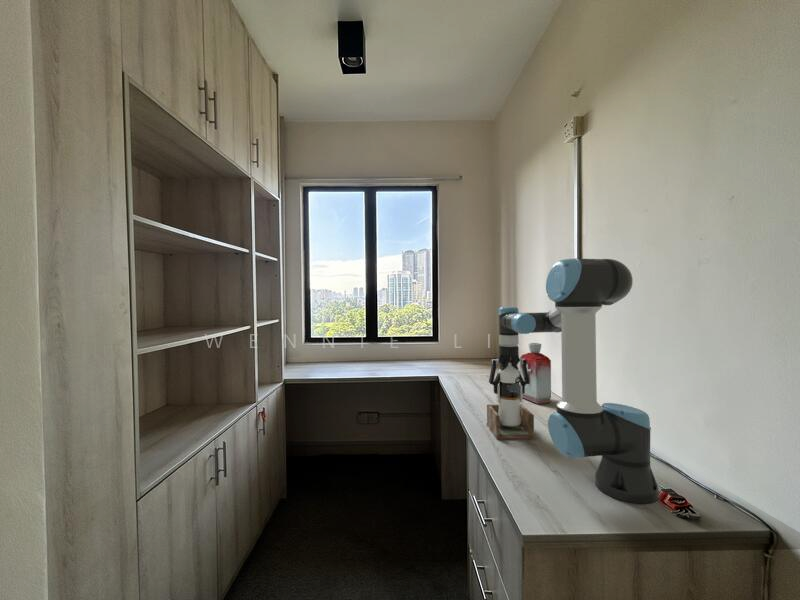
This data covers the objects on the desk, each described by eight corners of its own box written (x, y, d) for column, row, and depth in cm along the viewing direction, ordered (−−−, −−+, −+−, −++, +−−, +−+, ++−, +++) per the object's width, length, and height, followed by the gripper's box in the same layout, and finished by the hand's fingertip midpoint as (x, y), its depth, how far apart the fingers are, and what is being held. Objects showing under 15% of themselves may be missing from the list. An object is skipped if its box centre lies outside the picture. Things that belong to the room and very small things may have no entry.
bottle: (518, 398, 198) (518, 342, 198) (534, 396, 201) (534, 341, 201) (536, 405, 184) (535, 345, 184) (553, 403, 187) (552, 344, 187)
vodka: (507, 417, 155) (507, 346, 155) (526, 424, 147) (525, 349, 147) (492, 422, 150) (492, 348, 150) (510, 428, 142) (510, 351, 142)
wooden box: (534, 439, 141) (534, 415, 141) (497, 439, 141) (496, 416, 140) (520, 424, 157) (520, 403, 157) (486, 425, 157) (486, 404, 156)
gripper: (531, 343, 152) (532, 398, 152) (480, 344, 152) (480, 399, 152) (538, 346, 145) (538, 403, 145) (484, 346, 145) (485, 404, 145)
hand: (509, 401), depth 149 cm, fingers closed on vodka, 8 cm apart
